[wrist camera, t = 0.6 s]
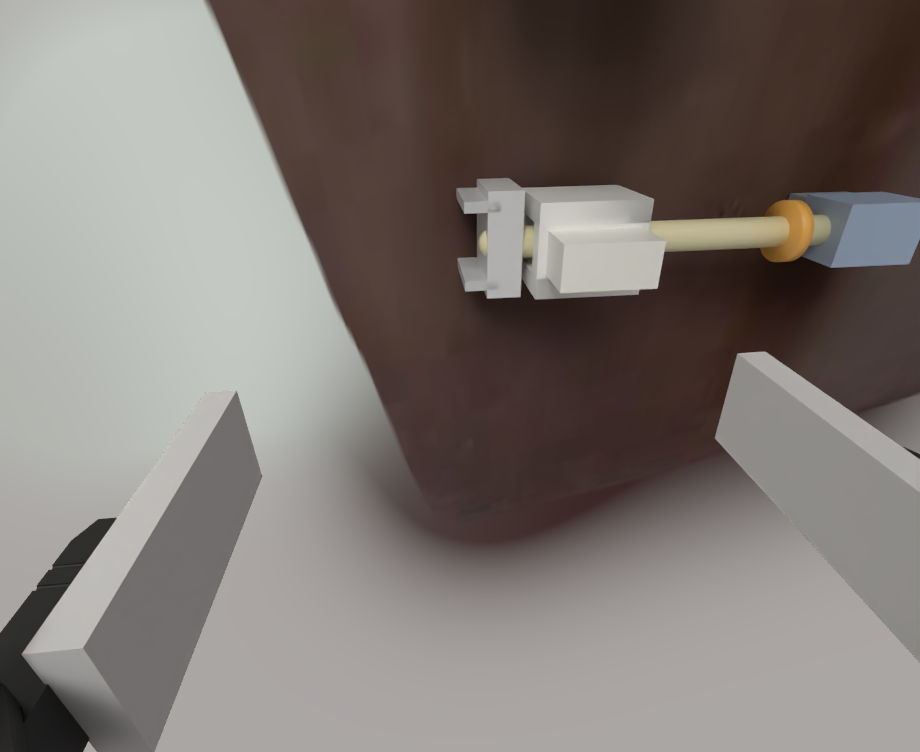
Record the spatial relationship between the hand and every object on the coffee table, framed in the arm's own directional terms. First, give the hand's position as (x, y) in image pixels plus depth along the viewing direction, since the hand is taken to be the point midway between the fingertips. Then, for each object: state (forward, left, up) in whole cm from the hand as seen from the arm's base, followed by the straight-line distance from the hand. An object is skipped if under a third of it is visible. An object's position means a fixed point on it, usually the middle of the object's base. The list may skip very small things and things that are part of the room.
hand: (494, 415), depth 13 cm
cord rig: (0, +14, -22) cm, 26 cm away
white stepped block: (0, +8, -20) cm, 22 cm away
